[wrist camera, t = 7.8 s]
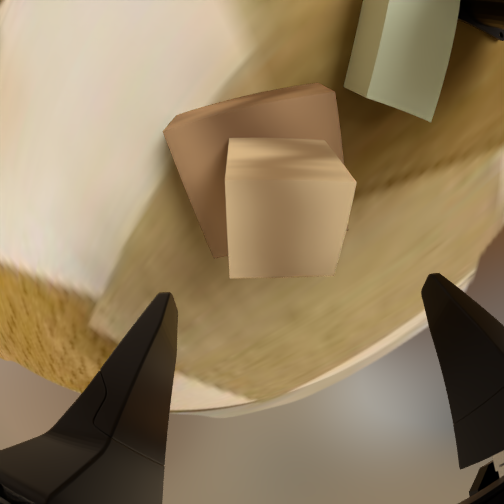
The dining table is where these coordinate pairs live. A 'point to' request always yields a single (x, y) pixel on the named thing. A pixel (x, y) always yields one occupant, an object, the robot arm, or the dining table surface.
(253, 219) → the oak cube
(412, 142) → the dining table surface
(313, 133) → the base block
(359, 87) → the block
